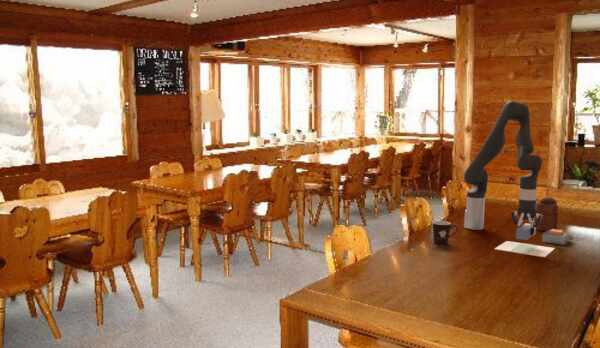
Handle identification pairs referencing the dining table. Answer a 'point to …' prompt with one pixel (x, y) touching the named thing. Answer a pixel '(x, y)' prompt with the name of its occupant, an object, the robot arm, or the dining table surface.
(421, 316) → the dining table surface
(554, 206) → the wooden figurine
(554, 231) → the button cap
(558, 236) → the button housing
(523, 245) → the paper sheet
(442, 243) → the coffee mug
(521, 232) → the eraser
